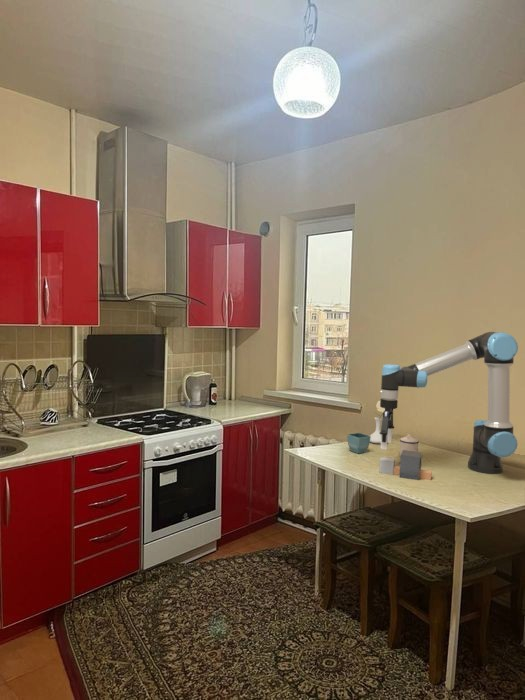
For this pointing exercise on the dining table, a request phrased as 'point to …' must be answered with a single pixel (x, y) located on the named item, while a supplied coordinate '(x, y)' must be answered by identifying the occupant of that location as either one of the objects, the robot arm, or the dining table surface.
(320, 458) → the dining table surface
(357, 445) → the flower pot
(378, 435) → the flower in vase
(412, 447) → the teacup with lid
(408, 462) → the block
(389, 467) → the orange bar on cube
